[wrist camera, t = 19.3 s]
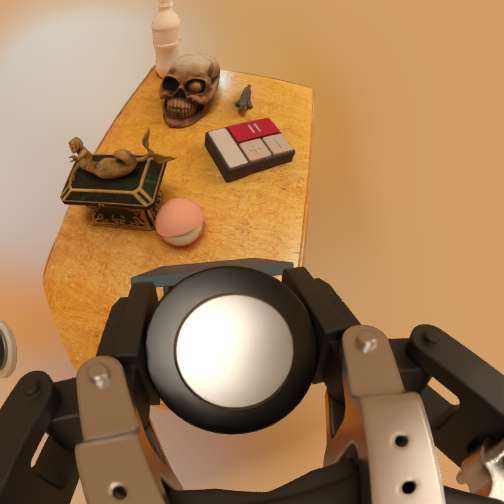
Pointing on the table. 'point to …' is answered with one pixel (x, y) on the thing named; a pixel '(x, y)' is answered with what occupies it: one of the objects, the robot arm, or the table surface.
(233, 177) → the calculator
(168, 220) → the toy ball
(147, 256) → the table surface
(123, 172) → the decorative box
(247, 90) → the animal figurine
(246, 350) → the pepper grinder
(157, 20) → the water bottle
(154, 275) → the bin lid
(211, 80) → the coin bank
